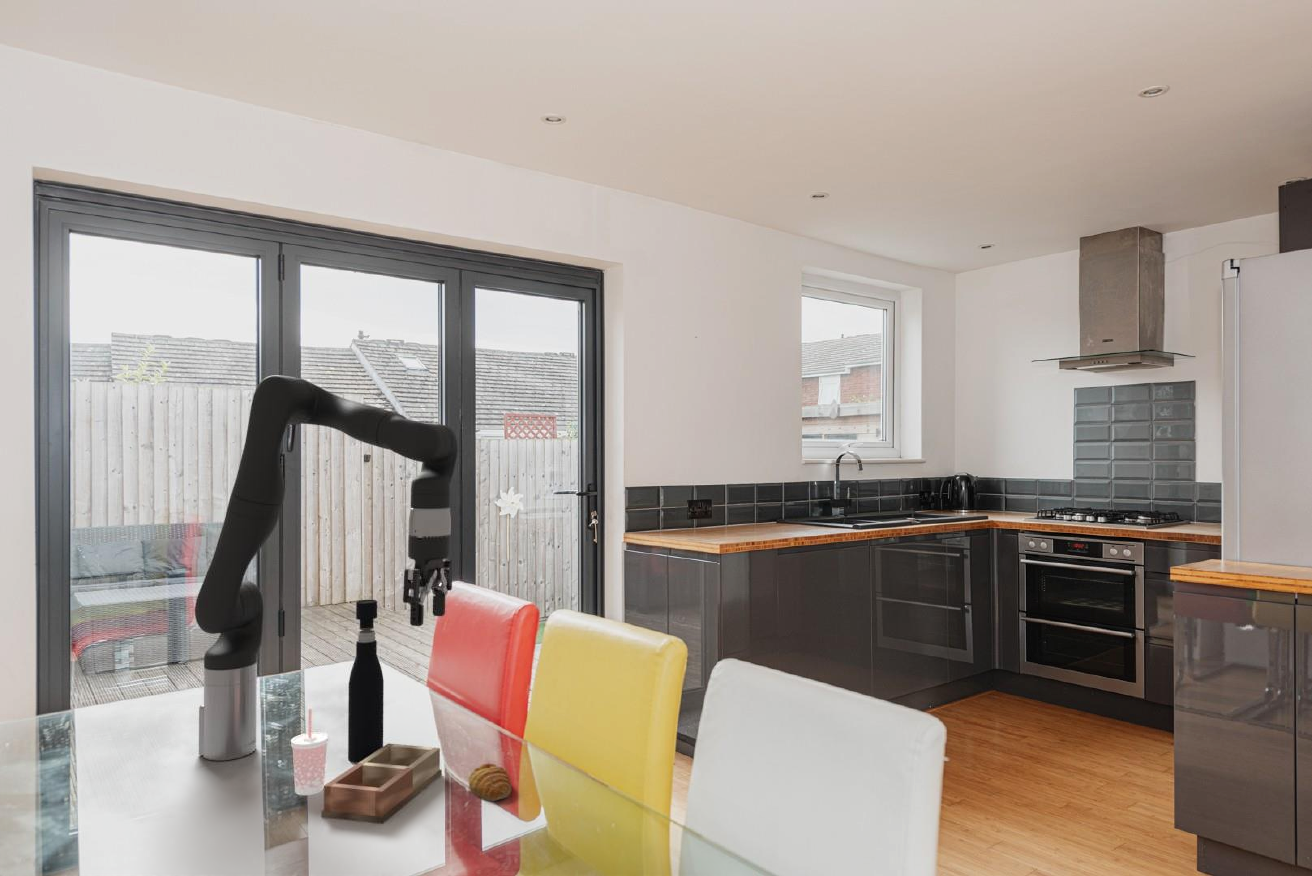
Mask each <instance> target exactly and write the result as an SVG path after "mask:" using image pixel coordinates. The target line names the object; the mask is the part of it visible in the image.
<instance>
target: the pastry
mask: <svg viewBox="0 0 1312 876" xmlns="http://www.w3.org/2000/svg"><path fill="white" fill-rule="evenodd" d="M511 781H512V780H511V778H510V775H509V773H507V771H506V770H505V769H504V767H502V766H497V765H496V764H494V763H490V762H489V763H483V764H481V765H479V766H478V767H475V769H473V771H472V772H471V774H470V776H469V778H468V787H469V788H470V790H471V792H472V793H473V794H474V795H475V794H476V795H475V796H478V797H479V798H481V799H483V800H484V801H490V802H495V801H498V800H503V799H506V798H508V797H509V796H510V794H511V793H512V783H511Z"/></svg>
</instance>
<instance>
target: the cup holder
mask: <svg viewBox="0 0 1312 876" xmlns="http://www.w3.org/2000/svg"><path fill="white" fill-rule="evenodd" d="M440 752H441V748H440V747H432V746H423V745H422V746H421V745H411V744H409V745H408V744H401V743H400V744H399V743H387V744H385V745H383V747H382V748H380V749H379V750H377V751H376V752H374V753H373V754H371V755H370V756H368V757H367V758H365V759H364V760H362V761H361V762H359V763H355V765H353V766H351V767H350V768H348V769H347V770H346V771H344V772H343V773H340V774H339V775H338V776H337V777H335V778H334V779H331V780H330V781H329V782H327V783H326V784H324V788H323V809H321V813H320V814H321V815H320V816H321V818H326V819H336V820H345V821H352V822H353V821H354V822H364V823H372V824H381V825H383V824H384V823H386V822H387V821H388V820H389V819H391V818H392V817H393V816H394V815H396V814H397V813H398V812H399V811H400V810H401V809H403V808H404V807H405V806H406V805H408V804H409V803H410V802H411V801H413V800H414V799H415V798H416V797H417V796H419V795H420V794H421V793H422V792H423V791H425V790H426V789H427V788H428V787H429V786H431V785H432V784H433V783H434V782H435V781H437V780H438V779H439V778H441V777H442V774H443V769H441V759H440V758H441V757H440V756H441V753H440Z"/></svg>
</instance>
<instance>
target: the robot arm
mask: <svg viewBox="0 0 1312 876" xmlns="http://www.w3.org/2000/svg"><path fill="white" fill-rule="evenodd" d="M252 396H253V397H252V402H251V406H250V410H249V411H250V412H249V418H248V423H247V424H248V425H247V431H246V436H245V441H244V442H245V443H244V447H243V450H242V453H241V458H240V462H239V466H238V470H237V472H236V473H237V474H236V478H235V482H234V485H233V487H232V490H231V494H230V497H229V501H228V504H227V507H226V512H225V517H224V520H223V524H222V527H221V531H220V533H219V537H218V540H217V543H216V547H215V550H214V552H213V557H212V559H211V562H210V564H209V567H208V569H207V571H206V574H205V577H204V580H203V581H202V585H201V586H200V589H199V591H198V594H197V597H196V602H195V604H194V605H195V606H194V617H195V621H196V624H197V625H198V627H199V629H201V631H203V632H205V633H206V634H210V635H212V634H213V635H216V634H219V636H218V638H217V640H216V641H215V643H213V645H212V646H210V648H208V649H206V651H205V653H204V658H203V704H201V705H200V706H199V708H198V756H199V755H203V756H202V758H204V759H205V760H209V761H218V762H219V761H220V762H221V761H229V760H230V761H231V760H235V759H240V758H242V757H245V755H246V756H248V755H250V753H251V754H252V753H254V752H255V751H256V750H255V749H257V704H258V703H257V696H258V695H257V694H258V693H257V690H258V689H257V688H258V687H257V684H258V676H257V672H258V670H257V668H258V667H257V665H258V662H257V661H258V652H259V650H260V648H261V646H262V639H263V638H262V637H263V625H264V624H263V623H264V599H263V596H262V592H261V590H260V589H259V586H257V585H256V584H255V583H254V582H252V581H250V580H248V579H247V580H246V579H244V577H245V574H246V572H247V570H248V568H249V566H250V564H251V562H252V560H253V559H254V558H255V556H256V555H257V553H258V552H259V551H260V550H261V549H262V547H264V546H263V545H265V543H266V542H267V541H268V539H269V538H270V536H271V534H272V533H273V531H274V530H275V528H276V526H277V523H278V521H279V517H280V514H281V511H282V509H283V508H282V507H283V504H284V500H285V495H286V488H285V487H286V486H285V485H286V484H285V479H284V474H283V470H282V467H281V465H282V464H281V460H280V459H281V458H280V455H281V454H280V453H281V452H280V451H281V447H282V446H281V445H282V442H283V439H284V435H285V432H286V430H287V429H286V428H287V426H289V425H292V426H294V425H304V424H305V425H313V426H323V427H328V428H331V429H335V430H337V431H340V432H342V433H344V434H345V435H347V436H349V437H350V438H352V439H354V440H357V441H359V442H361V443H364V444H369V445H372V446H374V447H378V448H382V449H385V450H390V451H391V452H394V453H395V454H397V455H400V456H402V457H404V458H406V459H408V460H411V461H416V462H418V463H419V462H421V463H422V464H421V468H420V469H421V470H420V473H419V474H417V476H415V477H414V478H413V479H412V481H411V485H410V508H409V510H410V511H409V517H408V534H407V535H408V538H407V539H408V542H407V543H408V544H407V545H408V546H407V556H408V558H409V559H410V560H413V561H414V567H413V568H405V569H404V572H403V574H404V575H403V593H402V602H403V603H404V604H408V605H409V606H410V609H409V611H410V613H409V614H410V618H409V619H410V621H409V624H410V625H411V626H412V627H422V626H423V625H424V613H425V611H424V609H425V608H424V602H425V600H426V597H427V595H429V594H430V592H432V594H433V595H432V615H433V616H435V617H443V616H445V614H446V596H447V595H448V591H452V589H453V572H452V571H453V561H452V559H449V558H450V557H451V542H452V541H451V538H452V537H451V536H452V535H451V532H452V519H451V518H452V515H451V509H450V508H451V483H452V479H453V475H454V472H455V467H456V462H457V459H458V458H457V457H458V450H459V446H458V439H457V436H456V434H455V431H454V430H453V429H451V427H449V426H447V425H445V424H441V423H439V424H438V423H424V422H420V421H416V420H411V419H409V418H406V417H405V416H404V415H402V414H401V413H398V412H394V411H391V410H388V409H384V408H381V407H376V406H373V405H370V404H366V403H361V402H357V401H353V400H351V399H348V398H343V397H341V396H338V395H336V394H334V393H332V392H330V391H328V390H326V389H324V388H322V387H320V386H318V385H317V384H314V383H312V382H310V381H308V380H306V379H303V378H300V377H295V376H288V375H287V376H286V375H277V374H275V375H274V374H273V375H269V376H266V377H265V378H263V379H262V380H261V381H260V382H259V384H257V387H256V388H255V391H254V393H253V395H252ZM253 751H254V752H253Z"/></svg>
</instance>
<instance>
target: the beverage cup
mask: <svg viewBox="0 0 1312 876" xmlns="http://www.w3.org/2000/svg"><path fill="white" fill-rule="evenodd" d="M312 712H313V711H312V708H309V709H308V726H307V727H308V729H307V730H308V732H307V733H301V734H299V735H296V736H294V737H291V740H290V743H291V744H290V746H291V748H292V760H293V762H292V763H293V777H294V779H293V780H294V793H295V794H297V795H298V796H311V795H315V794H318V793H320V792H322V791H324V785H325V774H326V772H325V771H326V762H327V761H326V759H327V758H326V757H327V747H328V746H327V744H328V742H329V739H330V737H329V734H327V733H325V732H318V731H317V732H312V715H313V714H312Z"/></svg>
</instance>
